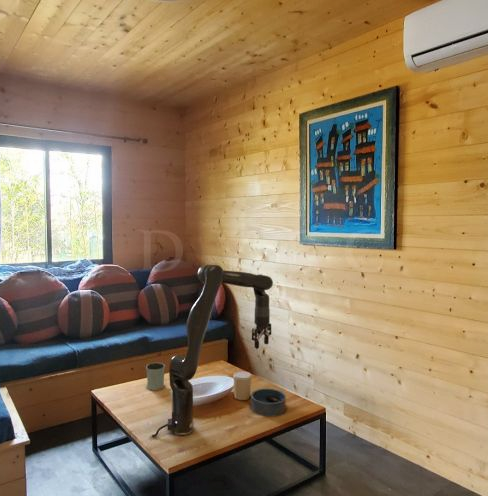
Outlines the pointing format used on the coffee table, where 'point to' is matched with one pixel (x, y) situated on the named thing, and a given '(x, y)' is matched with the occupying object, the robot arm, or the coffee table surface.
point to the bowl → (268, 402)
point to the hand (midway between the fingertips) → (261, 346)
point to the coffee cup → (242, 385)
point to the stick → (273, 399)
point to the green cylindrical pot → (155, 376)
